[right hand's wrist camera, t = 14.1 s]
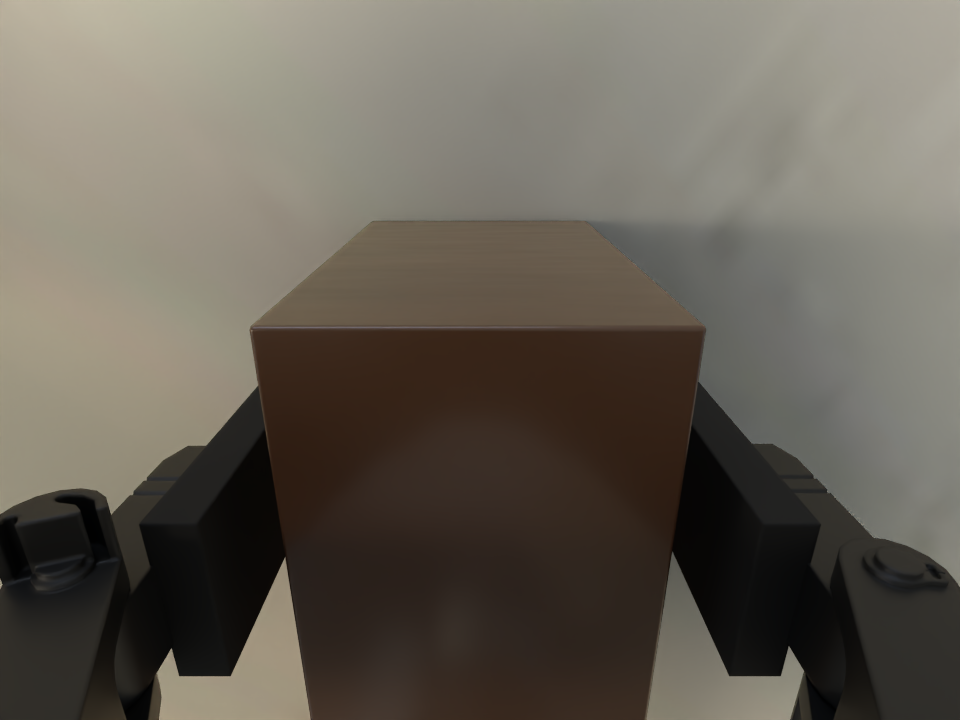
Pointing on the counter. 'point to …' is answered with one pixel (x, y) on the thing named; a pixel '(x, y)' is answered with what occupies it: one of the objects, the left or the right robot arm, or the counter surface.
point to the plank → (478, 470)
